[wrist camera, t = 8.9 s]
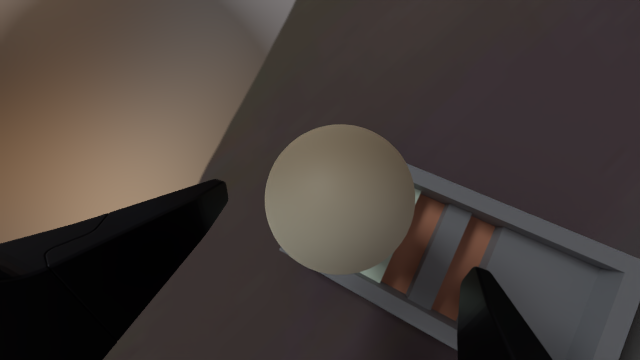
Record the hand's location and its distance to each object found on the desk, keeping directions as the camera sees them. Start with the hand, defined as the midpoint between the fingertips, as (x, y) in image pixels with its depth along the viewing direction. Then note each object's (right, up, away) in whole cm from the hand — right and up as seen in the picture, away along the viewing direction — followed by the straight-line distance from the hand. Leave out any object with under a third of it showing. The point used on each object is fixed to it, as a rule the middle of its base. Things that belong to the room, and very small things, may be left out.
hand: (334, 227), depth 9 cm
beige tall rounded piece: (+2, -1, +9) cm, 10 cm away
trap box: (+8, -4, +9) cm, 13 cm away
